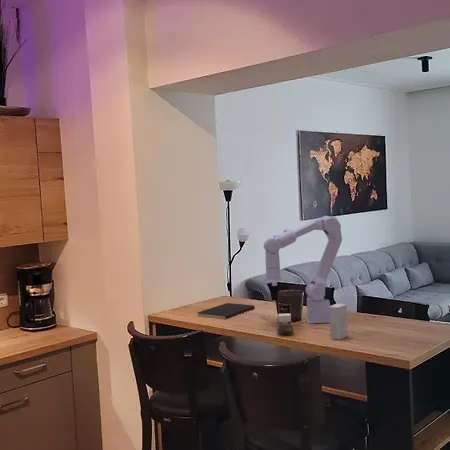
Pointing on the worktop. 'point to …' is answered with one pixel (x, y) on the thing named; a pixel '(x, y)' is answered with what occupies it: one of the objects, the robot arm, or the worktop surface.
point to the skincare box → (338, 321)
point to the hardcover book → (226, 310)
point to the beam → (284, 327)
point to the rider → (284, 318)
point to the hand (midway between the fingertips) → (274, 300)
